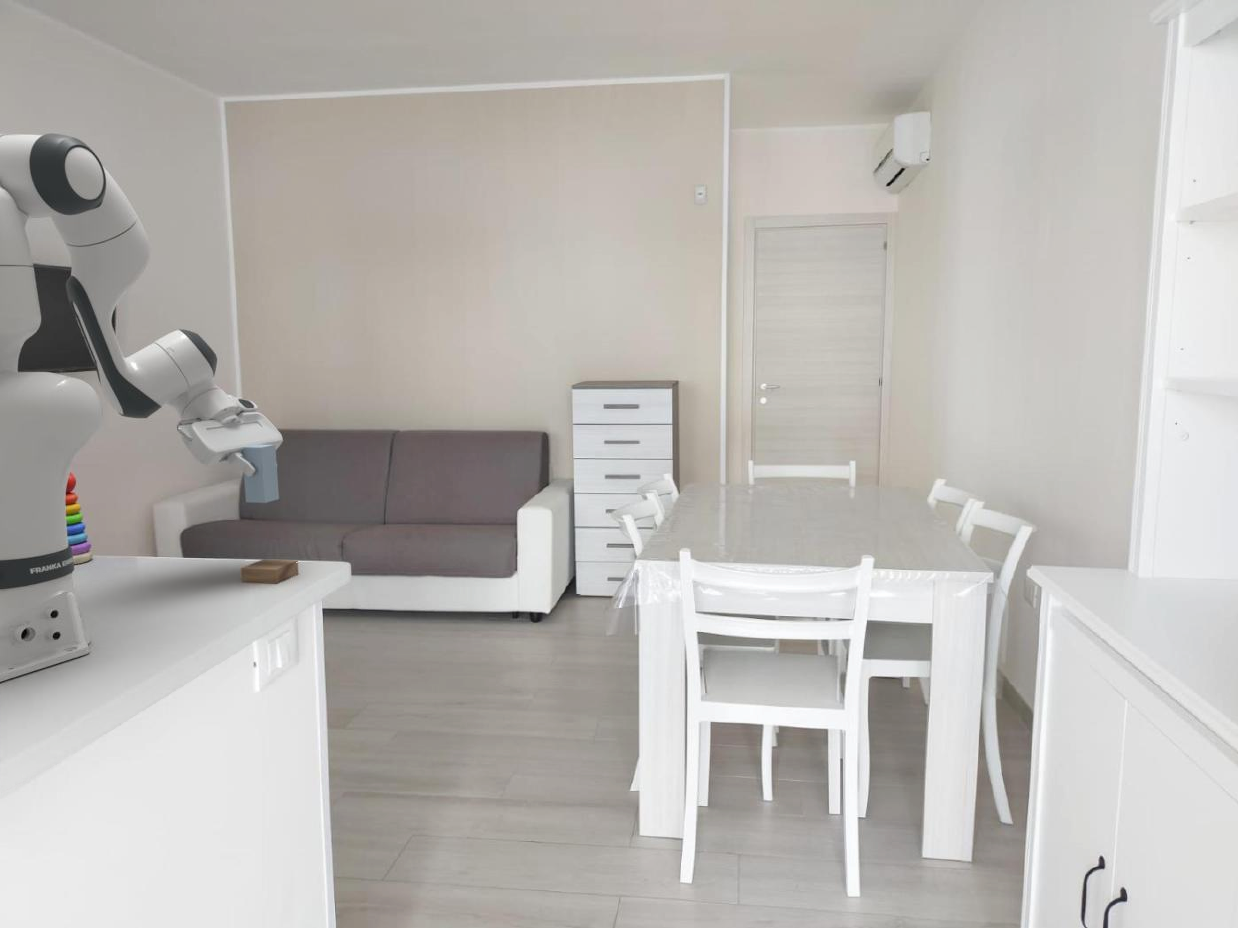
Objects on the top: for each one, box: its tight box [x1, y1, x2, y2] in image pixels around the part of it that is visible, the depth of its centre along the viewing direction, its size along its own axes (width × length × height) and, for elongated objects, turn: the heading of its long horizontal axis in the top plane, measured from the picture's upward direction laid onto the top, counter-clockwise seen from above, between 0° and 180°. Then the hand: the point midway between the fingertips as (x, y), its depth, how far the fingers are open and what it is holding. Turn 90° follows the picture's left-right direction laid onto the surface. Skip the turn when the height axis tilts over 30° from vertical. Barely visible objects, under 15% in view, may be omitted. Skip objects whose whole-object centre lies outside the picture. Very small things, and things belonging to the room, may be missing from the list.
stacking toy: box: [65, 471, 94, 565], centre depth 176 cm, size 8×8×19 cm
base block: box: [240, 558, 299, 585], centre depth 163 cm, size 7×7×3 cm
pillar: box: [242, 445, 280, 504], centre depth 160 cm, size 4×4×10 cm
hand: (263, 471), depth 160 cm, fingers closed on pillar, 4 cm apart
